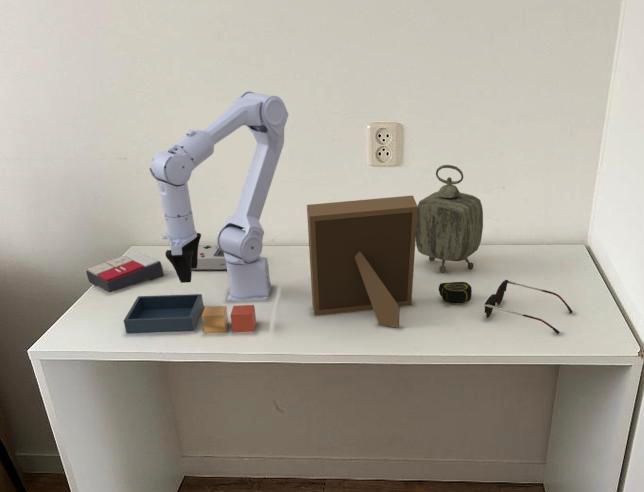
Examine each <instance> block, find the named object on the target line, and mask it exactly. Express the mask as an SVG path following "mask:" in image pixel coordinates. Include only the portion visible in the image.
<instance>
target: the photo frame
mask: <svg viewBox="0 0 644 492" xmlns="http://www.w3.org/2000/svg"><path fill="white" fill-rule="evenodd" d="M417 210H418V204H417V202H416V199H415V196H414V195H403V196H392V197H380V198H370V199H357V200H356V199H355V200H346V201H335V202H325V203H312V204H311V203H310V204H306V217H307V232H308V233H307V234H308V236H307V237H308V252H309V268H310V269H309V270H310V285H311V286H310V287H311V302H312V309H313V313H314V316H324V315H333V314H343V313H351V312H360V311H361V312H362V311H370V310H371V311H372V310H373V312H374V314H375V318H376V321H377V324H378V325H379V326H383V327H392V328H399V327H400V307H409V306H412V303H413V302H412V301H413V283H414V269H415V256H416V226H417Z"/></svg>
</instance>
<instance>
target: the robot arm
mask: <svg viewBox="0 0 644 492" xmlns="http://www.w3.org/2000/svg"><path fill="white" fill-rule="evenodd" d="M288 118H289V112H288V109H287V107H286V104H285V102H284V101H283V99H282V98H281V97H280V96H278V95H269V94H263V93H257V92H253V91H251V90H250V91H245V92H243V93H241V95H240V96H238V97H236V98H234V99H233V102H232V104H231V105H230V106H229V107H228V108H227V109H225V110H224V112H222V113H221V114H220V115H219V116H218V117H217V118H215V120H213V121H212V122H211V123H210V124H208V125H207V127H205V128H204V129H198V128H197V129H196V128H195V129H188V130H187V131H186V132H185V136H184V137H183V138H181V139H180V140H179V141H178V142H176V143H175V144H171V145H169V146H168V150H166V151H158V152H157V153H156V154H155V155H154V156H153V158H152V160H151V164H150V167H149V168H148V169H149V172H150V175H151V176H152V177H153V178H154V179H155V180H156V182H157V187H158V190H159V194H160V201H161V206H162V210H163V211H162V212H163V216H164V221H165V226H166V227H165V228H166V231H167V232H164V233H163V234H162V239H163V240H168V242H169V244H170V246H169V247H170V249H167V250H166V251H165V257H166V259H167V260H168V262H170V264H171V265H172V267H173V269H174V270H175V273H176V275H177V277H178V279H179V281H180V283H181V284H183V283H184V284H186V283H191V282H192V270H196V269H195V268H197V262H198V246H199V245H200V240H201V238H202V233H199V232H197V230H196V227H195V220H194V214H193V209H192V203H191V196H190V191H189V185H188V184H189V183H188V182H189V181H190V179H191V176H192V172H193V171H194V170H195V169H196V168H197V167H198V166H200V165H201V164H202V163H203V162H205V161H206V160H207V159H208V158H210V157H211V156H212V155H213V154H214V152H215V145H216V144H218V143H219V142H222V141H223V140H224V139H225V138H227V137H228V136H230V135H231V134H233V133H234V132H235V131H237V130H238V129H240V128H241V127H243V126H246V128H248V130H249V131H250V132H251V134H252V135H253V137H254V139H255V141H256V146H255V149H254V151H253V152H254V153H253V154H252V159H251V161H250V165H249V168H248V171H247V173H246V174H247V175H246V178H245V181H244V184H243V187H242V190H241V193H240V197H239V200H238V203H237V206H236V209H235V211H234V212H233V213H232V214H231V215H229V216H228V217H226V219H225V221H224V224H223V226H222V227H221V228H220V230H219V231H218V233H217V235H216V245H218V247H219V249H220V250H221V251H223V252H224V257H225V259H226V265H227V269H226V271H227V278H228V285H229V286H228V287H229V292H228V295H227V298H226V300H227V301H247V300H249V301H252V300H267V299H269V295H270V292H271V287H272V285H271V284H272V283H271V277H270V268H269V260H268V258H267V257H266V256H261V253H262V252H263V238H264V234H265V231H264V228H263V226H262V224H261V222H260V219H261V216H262V213H263V209H264V206H265V204H266V200H267V197H268V195H269V191H270V188H271V185H272V183H273V182H272V181H273V178H274V175H275V172H276V170H277V167H278V163H279V160H280V157H281V154H282V151H283V148H284V144H285V127H286V123H287V121H288Z"/></svg>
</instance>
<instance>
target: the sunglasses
mask: <svg viewBox="0 0 644 492" xmlns="http://www.w3.org/2000/svg"><path fill="white" fill-rule="evenodd" d="M508 284H510V285H516V286H520V287H523V288H526V289H531V290H535V291H539V292H543V293H546V294H550V295H553V296H556V297H557V298H559V299H560V300H561V302H562V303H563V305H565V307H566V308H567V310H568V312H569V314H572V313H574V312H573V310H572V307H570V306H569V304H568V303H567V302H566V301H565V300H564V298H563V297H561V295H559V294H558V293H556V292H553V291H549V290H545V289H541V288H538V287H534V286H529V285H525V284H521V283H517V282H514V281H512V280H511V281H510V280H508V279H504V280H503V281H502V282H501V283H500V285H499V286H498V287H497V290H496V292H495V293H493V294H490V296H489V297H488V298H487V299H486V301H485V302H484V314H485V319H489V318H490V317H491V316H492V313H493V311H494V310H499V311H504V312H506V313H510V314H513V315H516V316H517V315H518V316H522V317H525V318H528V319H532V320H536V321H538V322H539V321H540V322H541V323H543V324H544V325H546V326H548V327H549V328H550V329H552V330H553V331H554V333H556V334H557V335H559V334H560V331H559V330H558V329H557V328H555V327H554V326H553V325H551V324H550V323H548V322H547V321H545V319H542V318H539V317H535V316H532V315H528V314H525V313H524V314H523V313H519V312H516V311H512V310H509V309H504V308H501V307H499V306H500V305H501V304H502V302H503V300H504V297H505V292H507V289H508Z"/></svg>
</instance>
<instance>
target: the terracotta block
mask: <svg viewBox="0 0 644 492" xmlns="http://www.w3.org/2000/svg"><path fill="white" fill-rule="evenodd" d="M230 322H231V329H232V333H250V332H251V333H252V332H255V330H256V325H257V315H256V307H255V304H246V305H245V304H243V305H232V309H231V311H230Z"/></svg>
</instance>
